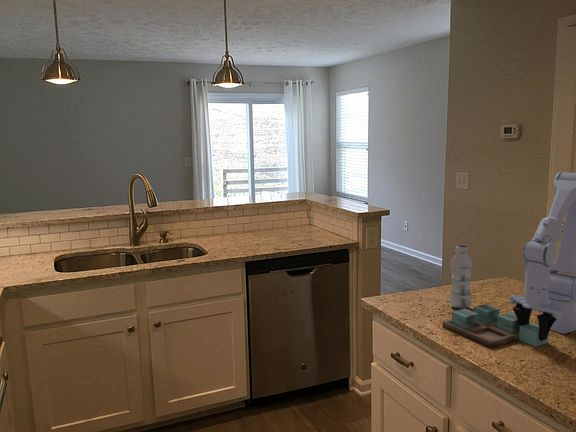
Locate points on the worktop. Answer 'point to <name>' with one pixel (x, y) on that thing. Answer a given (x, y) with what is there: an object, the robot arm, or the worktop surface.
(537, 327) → the teal block
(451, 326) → the puzzle tray
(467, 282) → the plastic bottle
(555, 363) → the worktop surface
